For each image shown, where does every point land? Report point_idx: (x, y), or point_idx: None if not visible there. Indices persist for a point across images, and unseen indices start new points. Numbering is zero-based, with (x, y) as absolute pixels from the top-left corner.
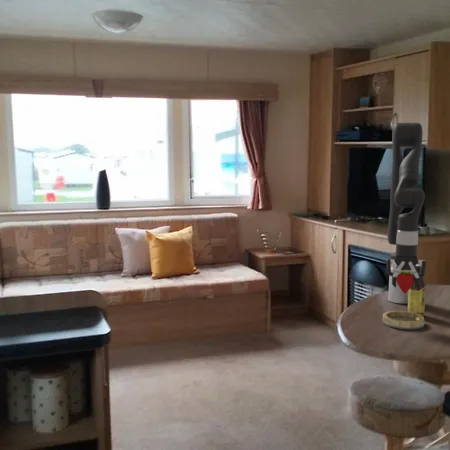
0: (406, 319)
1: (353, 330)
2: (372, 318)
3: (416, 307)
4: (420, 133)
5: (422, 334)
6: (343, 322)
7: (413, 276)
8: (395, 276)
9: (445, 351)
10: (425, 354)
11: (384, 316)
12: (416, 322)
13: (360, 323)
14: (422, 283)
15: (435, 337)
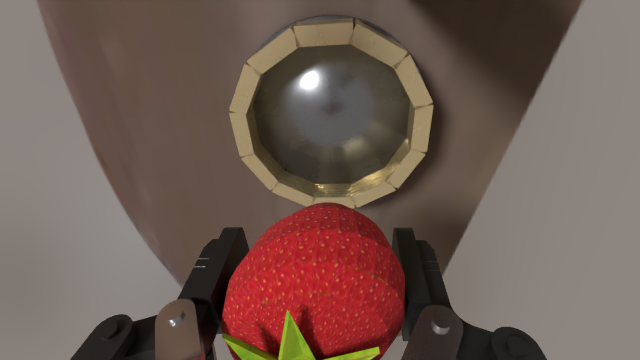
0: (349, 84)
1: (167, 224)
2: (188, 68)
3: None
4: None
5: (390, 221)
6: (100, 154)
7: (396, 335)
8: (212, 346)
9: None
10: None
11: (243, 154)
12: (379, 196)
13: (162, 152)
14: None
15: (428, 239)
